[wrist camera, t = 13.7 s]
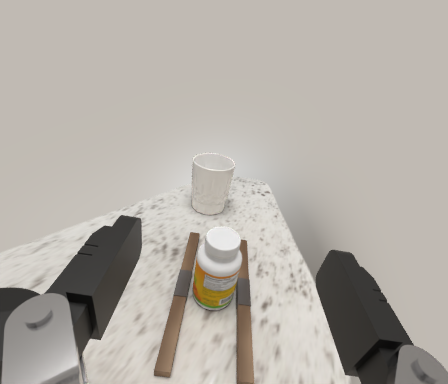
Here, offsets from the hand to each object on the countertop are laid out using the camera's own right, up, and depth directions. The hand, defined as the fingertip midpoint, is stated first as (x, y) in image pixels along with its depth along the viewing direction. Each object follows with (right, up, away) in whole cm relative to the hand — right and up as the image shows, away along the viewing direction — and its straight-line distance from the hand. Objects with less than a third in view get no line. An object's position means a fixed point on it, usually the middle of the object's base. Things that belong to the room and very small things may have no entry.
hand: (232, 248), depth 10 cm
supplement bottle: (-2, -11, +21) cm, 24 cm away
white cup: (-4, -1, +39) cm, 39 cm away
